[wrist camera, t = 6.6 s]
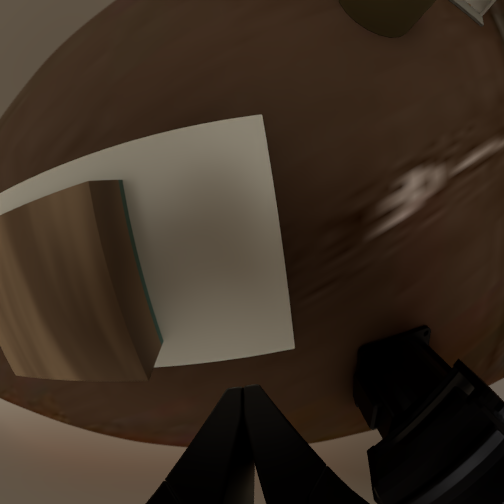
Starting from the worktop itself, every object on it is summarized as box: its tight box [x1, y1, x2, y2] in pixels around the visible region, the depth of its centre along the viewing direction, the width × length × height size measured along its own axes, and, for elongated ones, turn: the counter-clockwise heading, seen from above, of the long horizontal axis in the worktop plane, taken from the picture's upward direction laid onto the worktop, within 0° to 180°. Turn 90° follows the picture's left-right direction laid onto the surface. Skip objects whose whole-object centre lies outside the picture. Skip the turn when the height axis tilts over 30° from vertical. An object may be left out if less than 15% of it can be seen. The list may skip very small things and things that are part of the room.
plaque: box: [0, 180, 164, 382], centre depth 13 cm, size 4×10×11 cm
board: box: [0, 115, 295, 367], centre depth 16 cm, size 22×14×1 cm, turn 99°
